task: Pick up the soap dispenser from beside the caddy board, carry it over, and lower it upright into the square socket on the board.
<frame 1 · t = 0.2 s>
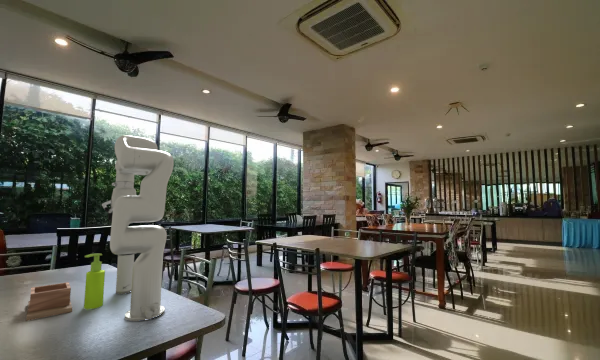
hand: (122, 221, 134), 31 cm above the table, tool pointing down, fingers open, 9 cm apart
socket caddy: (49, 308, 105), on the table
soap dispenser: (91, 307, 106), on the table
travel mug: (124, 292, 124), on the table
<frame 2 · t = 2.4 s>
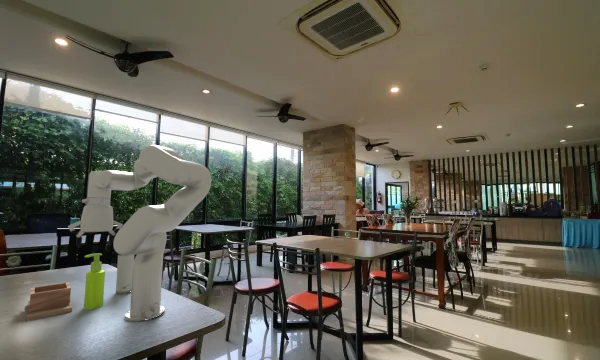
hand: (95, 246, 108), 23 cm above the table, tool pointing down, fingers open, 9 cm apart
nothing on the table moved.
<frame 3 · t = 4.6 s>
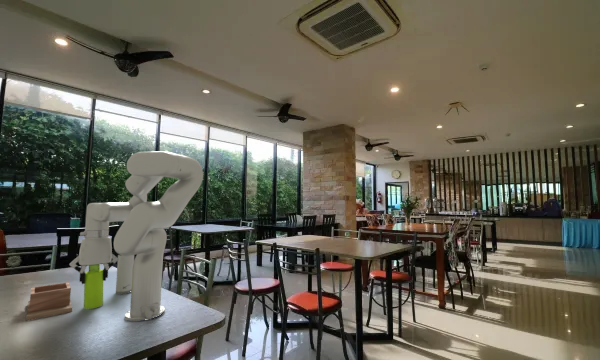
hand: (93, 281, 107), 10 cm above the table, tool pointing down, fingers closed on soap dispenser, 6 cm apart
soap dispenser: (92, 307, 106), on the table, touching gripper
everything else where it was.
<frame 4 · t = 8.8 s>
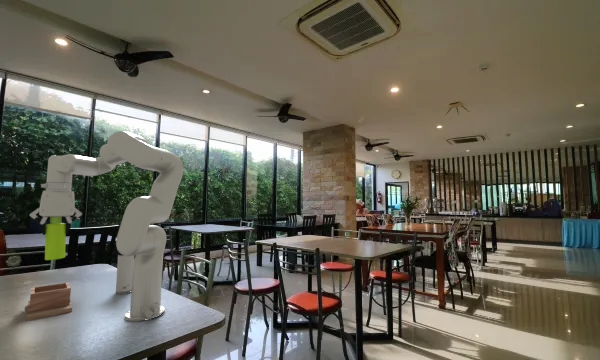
hand: (55, 233, 107), 28 cm above the table, tool pointing down, fingers closed on soap dispenser, 6 cm apart
soap dispenser: (53, 259, 106), point 18 cm above the table, touching gripper
everything else where it was.
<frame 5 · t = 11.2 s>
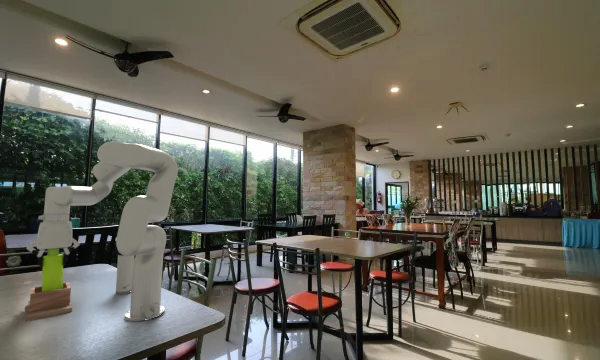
hand: (52, 265, 106), 16 cm above the table, tool pointing down, fingers closed on soap dispenser, 6 cm apart
soap dispenser: (50, 291, 105), point 6 cm above the table, touching gripper
everything else where it was.
when the fingers open (12 cm above the table, at t = 13.4 s): soap dispenser drops 1 cm, resting on socket caddy.
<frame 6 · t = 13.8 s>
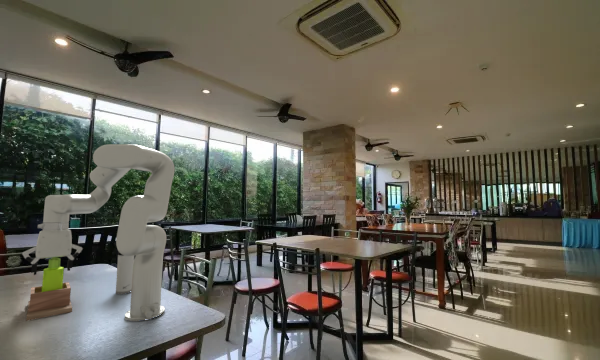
hand: (52, 272, 106), 13 cm above the table, tool pointing down, fingers open, 9 cm apart
soap dispenser: (49, 304, 105), point 1 cm above the table, touching socket caddy
everything else where it was.
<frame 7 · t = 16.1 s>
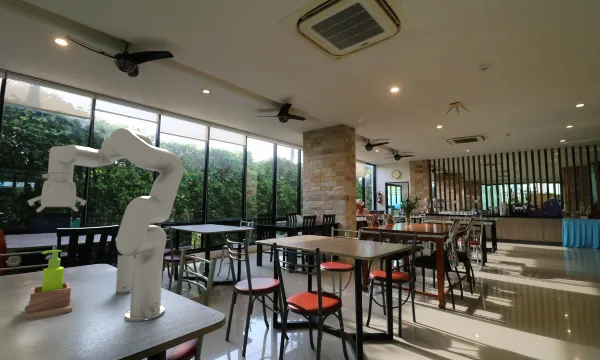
hand: (57, 222, 108), 32 cm above the table, tool pointing down, fingers open, 9 cm apart
nothing on the table moved.
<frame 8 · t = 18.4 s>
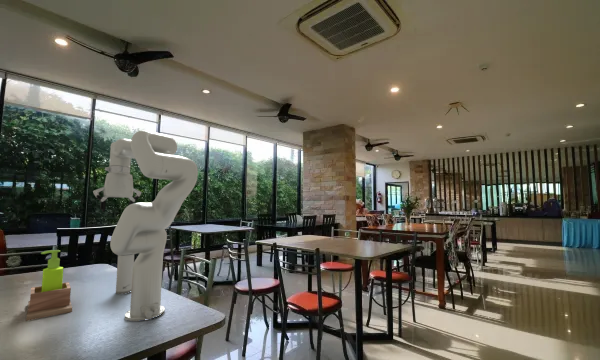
hand: (117, 211, 117), 36 cm above the table, tool pointing down, fingers open, 9 cm apart
nothing on the table moved.
at the end: soap dispenser 0.3 cm off-centre on the socket caddy, point 1.3 cm above the socket caddy's base; soap dispenser tilted 0°; the gripper is holding nothing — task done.
